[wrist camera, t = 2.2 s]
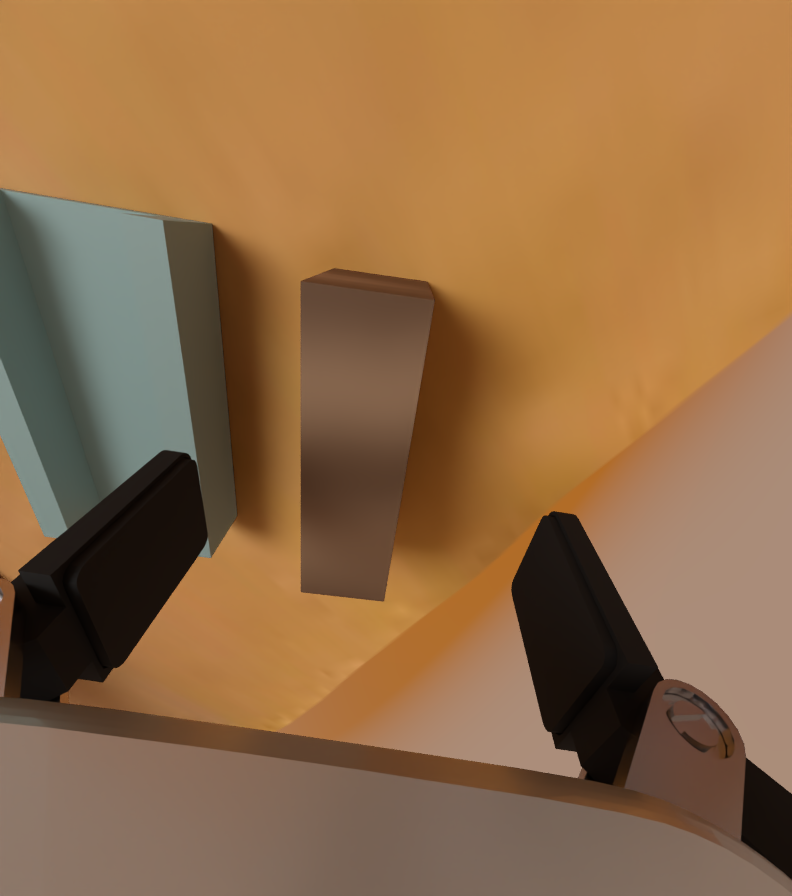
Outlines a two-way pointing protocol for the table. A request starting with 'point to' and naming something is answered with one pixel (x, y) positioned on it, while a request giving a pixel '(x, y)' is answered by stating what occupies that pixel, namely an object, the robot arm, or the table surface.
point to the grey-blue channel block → (109, 354)
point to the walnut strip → (357, 423)
